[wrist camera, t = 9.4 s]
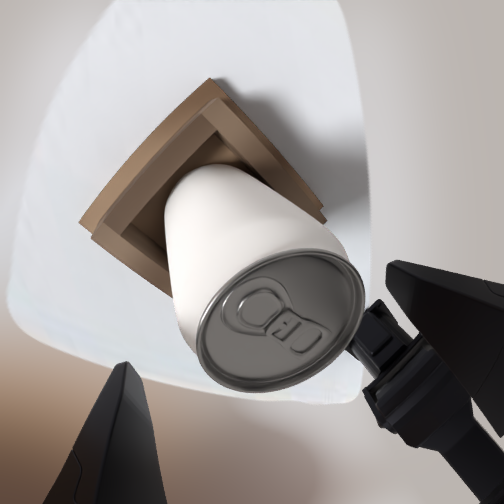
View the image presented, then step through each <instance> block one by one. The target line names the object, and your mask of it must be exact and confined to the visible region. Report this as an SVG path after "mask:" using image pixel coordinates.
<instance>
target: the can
mask: <svg viewBox="0 0 504 504" xmlns="http://www.w3.org/2000/svg"><path fill="white" fill-rule="evenodd" d="M164 220H165V235H166V245H167V255H168V264H169V272H170V280H171V288H172V295H173V301H174V307H175V313H176V318H177V322H178V325H179V328H180V331H181V334H182V336H183V338H184V340H185V341H186V343H187V344H188V346H189V347H190V348H191V350H192V351H193V352H194V353H195V354H196V355H197V356H198V359H199V362H200V364H201V366H202V368H203V369H204V371H205V372H206V373H207V374H208V375H209V376H210V377H211V378H212V379H213V380H214V381H216V382H217V383H219V384H220V385H222V386H224V387H226V388H229V389H232V390H235V391H240V392H246V393H266V392H273V391H278V390H282V389H285V388H288V387H291V386H294V385H297V384H299V383H301V382H303V381H305V380H307V379H309V378H311V377H313V376H314V375H316V374H317V373H319V372H320V371H322V370H323V369H325V368H326V367H327V366H328V365H330V364H331V363H332V362H333V361H334V360H335V359H336V358H337V357H338V356H339V355H340V354H341V353H342V352H343V351H344V350H345V348H346V347H347V346H348V344H349V343H350V342H351V340H352V339H353V337H354V335H355V333H356V332H357V330H358V327H359V325H360V323H361V320H362V317H363V313H364V308H365V289H364V284H363V281H362V279H361V276H360V274H359V273H358V271H357V270H356V268H355V267H354V266H353V265H352V264H351V263H350V262H349V259H348V256H347V254H346V251H345V249H344V247H343V246H342V244H341V243H340V241H339V240H338V239H337V238H336V236H335V235H334V234H333V233H332V232H331V231H330V230H329V229H327V228H326V227H325V226H324V225H322V224H321V223H320V222H319V221H317V220H316V219H315V218H313V217H312V216H310V215H309V214H308V213H306V212H305V211H303V210H302V209H300V208H299V207H298V206H296V205H295V204H293V203H292V202H290V201H289V200H287V199H286V198H284V197H283V196H281V195H280V194H278V193H277V192H275V191H274V190H272V189H271V188H269V187H268V186H266V185H265V184H263V183H262V182H260V181H258V180H257V179H255V178H254V177H252V176H250V175H249V174H247V173H245V172H244V171H242V170H240V169H238V168H236V167H233V166H229V165H224V164H210V165H205V166H201V167H199V168H196V169H194V170H192V171H190V172H188V173H187V174H185V175H184V176H183V177H182V178H181V179H180V180H179V181H178V182H177V183H176V185H175V186H174V188H173V189H172V191H171V193H170V195H169V197H168V199H167V202H166V206H165V214H164Z"/></svg>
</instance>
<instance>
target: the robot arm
mask: <svg viewBox="0 0 504 504" xmlns="http://www.w3.org/2000/svg"><path fill="white" fill-rule="evenodd" d="M385 282H386V287H387V289H388V290H389V292H390V293H391V295H392V296H393V298H394V299H395V300H396V302H397V303H398V305H399V306H400V307H401V309H402V310H403V312H404V313H405V314H406V316H407V317H408V319H409V320H410V321H411V322H412V324H413V325H414V326H415V327H416V328H417V330H418V331H419V334H418V335H417V336H416V337H415V339H414V340H413V339H412V338H411V337H410V336H409V335H408V334H407V333H406V332H405V331H404V330H403V329H402V328H401V327H400V326H399V325H398V322H397V321H396V319H395V318H394V317H393V315H392V314H391V312H390V311H389V309H388V308H387V307H386V305H385V304H384V302H383V301H382V300H381V299H378V300H377V301H375V303H374V304H373V305H371V306H370V308H369V309H368V310H367V311H366V312H364V313H363V317H362V320H361V323H360V325H359V327H358V330H357V332H356V333H355V335H354V337H353V339H352V340H351V342H350V343H349V344H348V346H347V347H346V348H345V350H346V351H347V352H349V353H350V354H351V355H352V356H354V357H355V358H356V359H357V360H359V361H361V363H362V364H363V365H364V366H365V368H366V369H367V370H368V371H369V373H370V374H371V375H372V376H373V378H374V379H375V380H374V381H373V382H372V383H370V384H369V385H368V386H367V387H365V388H364V389H363V390H362V391H363V393H364V395H365V396H364V397H365V399H366V401H367V402H368V404H369V406H370V408H371V410H372V412H373V414H374V415H375V417H376V420H377V423H378V425H379V427H380V428H386V429H387V430H388V431H390V432H391V433H393V434H397V433H398V434H399V435H400V437H401V438H402V439H403V440H404V442H405V443H406V444H407V445H409V446H411V447H414V448H418V447H422V448H426V449H430V450H435V451H438V452H439V453H440V454H441V455H442V456H443V457H444V458H445V459H446V461H447V462H448V463H449V464H450V466H451V467H452V468H453V469H454V470H455V472H457V474H458V475H459V476H460V478H461V479H462V480H463V481H464V483H465V484H466V485H467V486H468V487H469V488H470V490H471V491H472V492H473V493H474V495H475V496H476V497H477V498H478V500H479V501H480V503H479V504H504V451H503V449H502V448H501V447H500V446H499V445H498V444H497V442H496V441H495V440H494V439H493V438H492V437H491V436H490V435H489V433H488V432H487V431H486V430H485V429H484V428H483V427H482V425H481V424H480V423H479V422H478V421H477V420H476V419H475V417H474V416H473V409H472V403H471V397H472V398H473V400H474V402H475V403H476V404H477V406H478V407H479V409H480V410H481V411H482V413H483V414H484V416H485V417H486V418H487V420H488V421H489V423H490V424H491V426H492V427H493V428H494V430H495V432H496V433H497V434H498V436H499V437H500V438H501V437H502V436H503V435H504V284H500V283H495V282H491V281H487V280H482V279H479V278H474V277H470V276H466V275H462V274H458V273H453V272H449V271H445V270H441V269H436V268H432V267H428V266H423V265H419V264H414V263H410V262H405V261H400V260H394V261H392V262H390V263H388V264H387V267H386V280H385ZM43 504H167V500H166V496H165V491H164V487H163V482H162V477H161V472H160V467H159V461H158V456H157V450H156V443H155V437H154V430H153V424H152V420H151V416H150V412H149V408H148V404H147V400H146V396H145V391H144V386H143V382H142V380H141V378H140V376H139V375H138V373H137V372H136V371H135V369H134V368H133V366H132V365H131V364H130V363H129V362H127V361H126V362H122V363H119V364H117V365H116V366H115V367H114V369H113V371H112V373H111V375H110V376H109V378H108V380H107V382H106V384H105V386H104V387H103V389H102V391H101V393H100V395H99V397H98V399H97V400H96V402H95V404H94V406H93V408H92V410H91V412H90V414H89V416H88V418H87V420H86V421H85V424H84V425H83V427H82V429H81V431H80V433H79V436H78V438H77V439H76V441H75V444H74V446H73V450H71V452H70V454H69V456H68V458H67V460H66V462H65V464H64V466H63V468H62V470H61V472H60V474H59V476H58V477H57V479H56V481H55V483H54V485H53V486H52V488H51V490H50V491H49V493H48V495H47V497H46V498H45V500H44V502H43Z"/></svg>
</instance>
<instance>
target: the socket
mask: <svg viewBox="0 0 504 504" xmlns="http://www.w3.org/2000/svg"><path fill="white" fill-rule="evenodd" d="M210 164H224V165H229V166H233V167H236V168H238V169H240V170H242V171H244V172H245V173H247V174H249V175H250V176H252V177H254V178H255V179H257V180H258V181H260V182H262V183H263V184H265V185H266V186H268V187H269V188H271V189H272V190H274V191H275V192H277V193H278V194H280V195H281V196H283V197H284V198H286V199H287V200H289V201H290V202H292V203H293V204H295V205H296V206H298V207H299V208H300V209H302V210H303V211H305V212H306V213H308V214H309V215H310V216H312V217H313V218H315V219H316V220H317V221H319V222H320V223H321V224H322V225H323V224H324V223H325V222H326V221H327V220H326V218H325V217H324V216H323V215H322V213H321V212H320V211H319V210H320V209H321V208H322V207H323V205H322V203H321V202H320V201H319V200H318V198H317V197H316V196H315V195H314V193H313V192H312V191H311V190H310V188H309V187H308V186H307V185H306V183H305V182H304V181H303V180H302V178H301V177H300V176H299V175H298V174H297V172H296V171H295V170H294V169H293V168H292V166H291V165H290V164H289V163H288V162H287V161H286V159H285V158H284V157H283V156H282V155H281V154H280V152H279V151H278V150H277V149H276V148H275V147H274V146H273V144H272V143H271V142H270V141H269V140H268V139H267V138H266V136H265V135H264V134H263V133H262V132H261V131H260V130H259V129H258V128H257V126H256V125H255V124H254V123H253V122H252V121H251V120H250V119H249V118H248V117H247V116H246V114H245V113H244V112H243V111H242V110H241V109H240V108H239V107H238V106H237V105H236V104H235V103H234V102H233V101H232V100H231V99H230V98H229V97H228V96H227V95H226V93H225V92H224V91H223V90H222V89H221V88H220V87H219V86H218V85H217V84H216V83H215V82H214V81H213V80H212V79H211V78H209V79H207V80H206V81H205V82H204V83H203V84H202V85H201V86H199V87H198V88H197V89H196V90H195V91H194V92H193V93H192V94H191V95H190V96H189V97H187V98H186V99H185V100H184V101H183V102H182V103H181V104H180V105H179V106H178V107H177V108H176V109H175V110H174V111H173V112H172V113H171V114H170V115H169V116H168V117H167V118H166V119H165V120H164V121H163V122H162V123H161V124H160V125H159V126H158V127H157V128H156V129H155V130H154V131H153V132H152V133H151V134H150V135H149V136H148V137H147V139H146V140H145V141H144V142H143V143H142V144H141V145H140V146H139V147H138V148H137V149H136V151H135V152H134V153H133V154H132V155H131V156H130V157H129V159H128V160H127V161H126V162H125V163H124V164H123V166H122V167H121V168H120V169H119V170H118V171H117V173H116V174H115V175H114V176H113V178H112V179H111V180H110V181H109V182H108V184H107V185H106V186H105V187H104V189H103V190H102V191H101V193H100V194H99V195H98V196H97V198H96V199H95V200H94V202H93V203H92V204H91V206H90V207H89V208H88V210H87V211H86V212H85V214H84V215H83V217H82V218H81V220H80V221H79V222H78V223H79V224H81V225H82V226H83V227H84V228H86V229H87V230H88V231H89V232H91V233H92V236H91V239H92V240H93V241H94V242H96V243H97V244H98V245H100V246H101V247H102V248H103V249H105V250H106V251H107V252H109V253H110V254H111V255H113V256H114V257H115V258H117V259H118V260H119V261H121V262H122V263H123V264H125V265H126V266H127V267H129V268H130V269H132V270H133V271H134V272H136V273H137V274H138V275H140V276H141V277H143V278H144V279H146V280H147V281H148V282H150V283H151V284H153V285H154V286H155V287H157V288H158V289H160V290H161V291H163V292H164V293H166V294H167V295H169V296H170V297H171V298H173V295H172V288H171V280H170V272H169V264H168V255H167V245H166V235H165V220H164V214H165V206H166V202H167V199H168V197H169V195H170V193H171V191H172V189H173V188H174V186H175V185H176V183H177V182H178V181H179V180H180V179H181V178H182V177H183V176H184V175H185V174H187V173H188V172H190V171H192V170H194V169H196V168H199V167H201V166H205V165H210Z"/></svg>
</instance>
